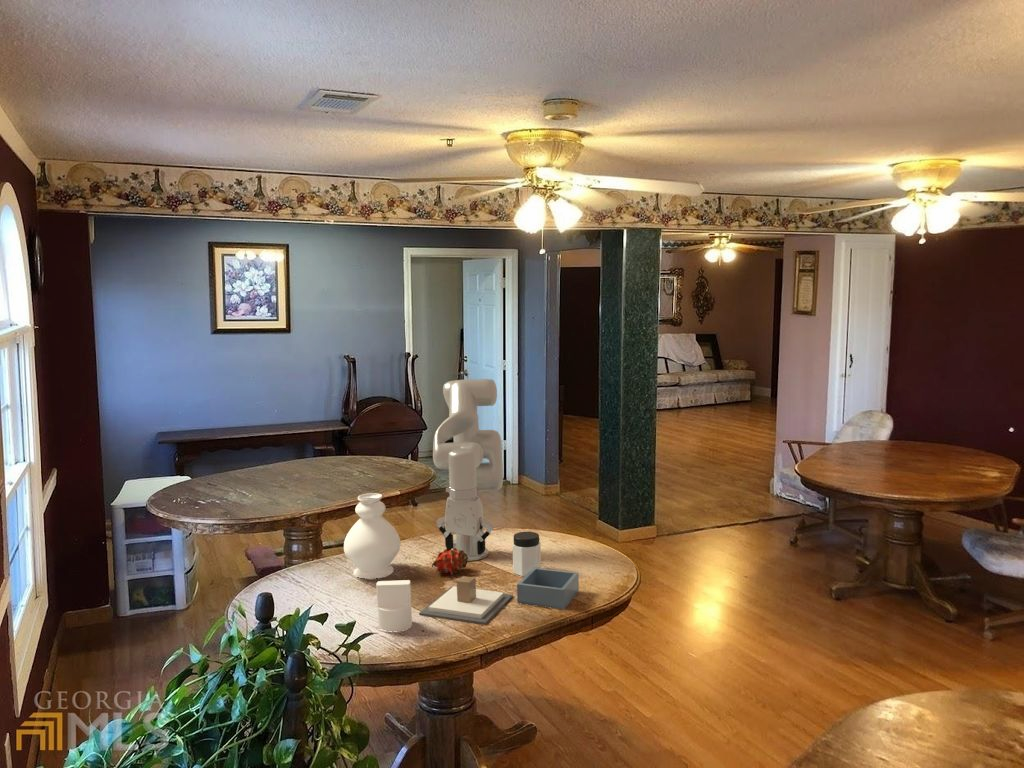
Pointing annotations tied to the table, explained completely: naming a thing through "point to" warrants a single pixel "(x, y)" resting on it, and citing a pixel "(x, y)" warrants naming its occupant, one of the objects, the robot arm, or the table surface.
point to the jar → (526, 552)
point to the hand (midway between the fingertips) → (465, 551)
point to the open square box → (548, 588)
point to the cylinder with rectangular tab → (394, 605)
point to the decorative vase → (371, 539)
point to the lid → (466, 600)
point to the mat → (483, 620)
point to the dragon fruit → (450, 561)
